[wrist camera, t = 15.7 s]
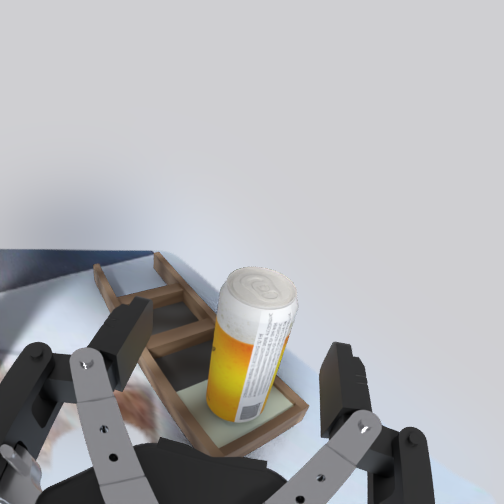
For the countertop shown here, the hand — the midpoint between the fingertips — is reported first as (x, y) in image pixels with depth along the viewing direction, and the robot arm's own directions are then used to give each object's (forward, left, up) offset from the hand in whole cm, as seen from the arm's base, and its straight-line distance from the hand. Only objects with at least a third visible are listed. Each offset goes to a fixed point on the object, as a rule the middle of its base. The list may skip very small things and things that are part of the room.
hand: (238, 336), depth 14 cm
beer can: (+1, +10, -19) cm, 21 cm away
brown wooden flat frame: (-8, +20, -21) cm, 30 cm away
